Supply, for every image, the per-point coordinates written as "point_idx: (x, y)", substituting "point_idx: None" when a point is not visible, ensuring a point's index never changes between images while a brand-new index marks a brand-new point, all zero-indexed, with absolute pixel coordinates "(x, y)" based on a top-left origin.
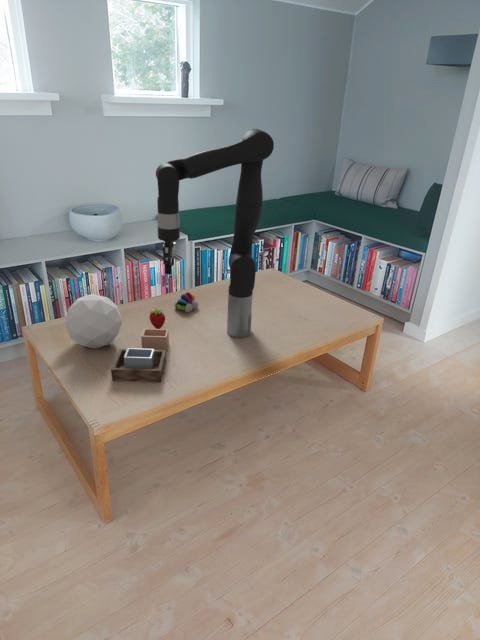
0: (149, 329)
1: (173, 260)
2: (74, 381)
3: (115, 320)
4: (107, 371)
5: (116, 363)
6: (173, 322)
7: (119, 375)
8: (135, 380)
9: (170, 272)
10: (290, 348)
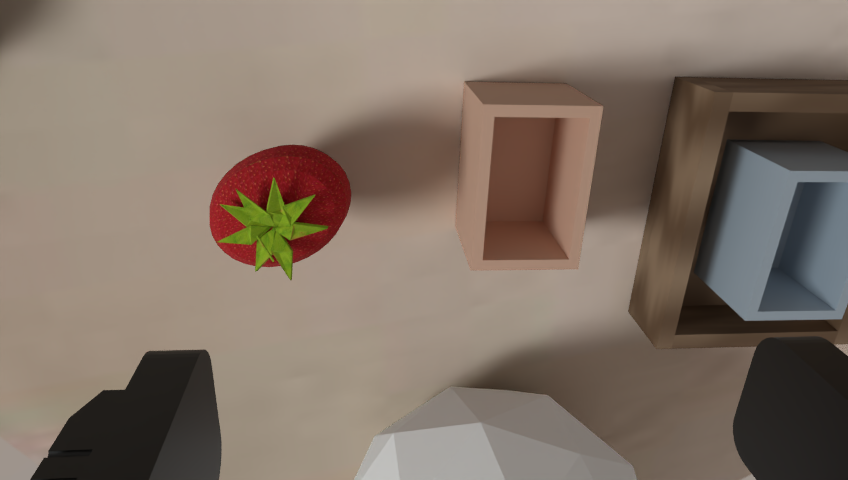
0: (484, 234)
1: (167, 455)
2: None
3: (585, 471)
4: None
5: (799, 332)
6: (157, 76)
7: None
8: None
9: (833, 368)
10: None
